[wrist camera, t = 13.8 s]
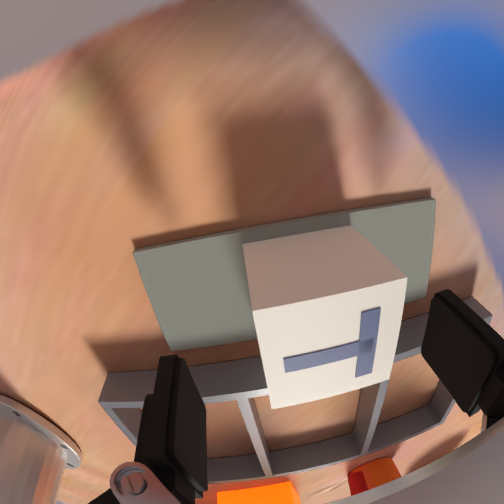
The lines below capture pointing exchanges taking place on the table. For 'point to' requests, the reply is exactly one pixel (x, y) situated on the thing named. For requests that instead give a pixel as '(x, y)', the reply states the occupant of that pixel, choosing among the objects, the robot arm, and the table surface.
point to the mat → (235, 277)
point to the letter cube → (323, 313)
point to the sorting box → (254, 385)
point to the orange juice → (261, 495)
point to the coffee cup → (372, 475)
